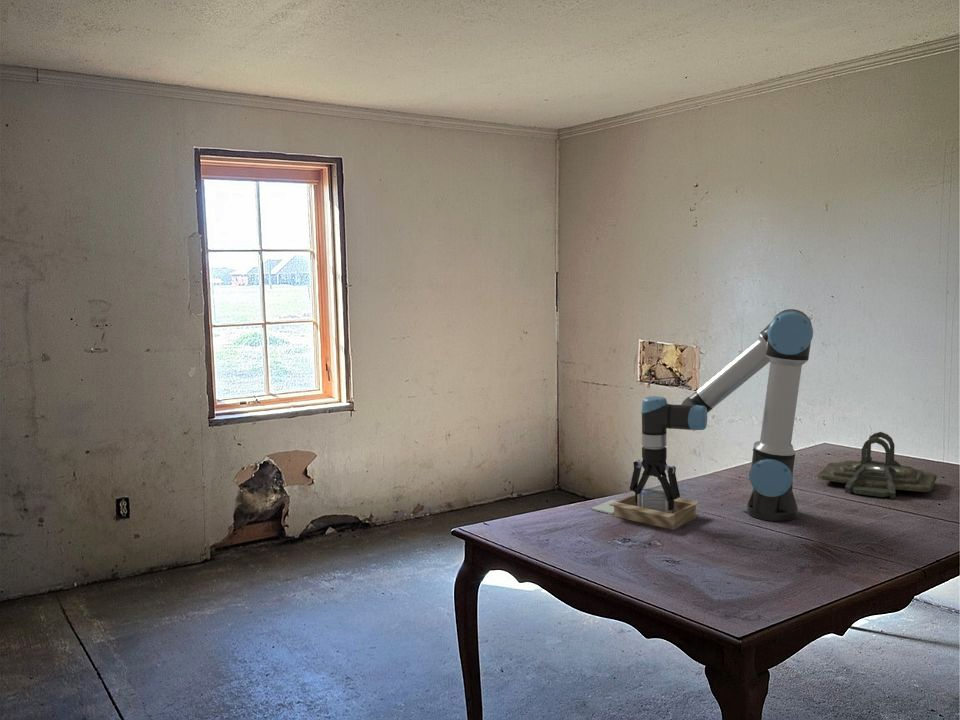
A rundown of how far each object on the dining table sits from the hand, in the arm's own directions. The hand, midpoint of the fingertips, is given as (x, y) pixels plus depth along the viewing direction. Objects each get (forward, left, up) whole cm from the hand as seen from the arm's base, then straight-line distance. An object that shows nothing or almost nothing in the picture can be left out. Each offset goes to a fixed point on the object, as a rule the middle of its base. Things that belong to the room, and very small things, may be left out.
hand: (654, 516), depth 256 cm
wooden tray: (0, 0, 0) cm, 0 cm away
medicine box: (0, 0, 0) cm, 0 cm away
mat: (+16, 0, 0) cm, 16 cm away
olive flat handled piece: (-41, -77, -1) cm, 88 cm away
